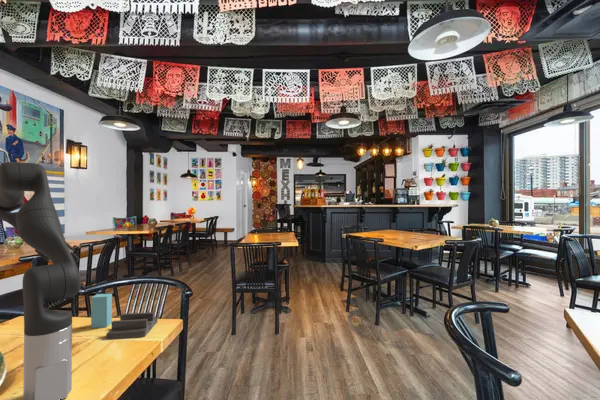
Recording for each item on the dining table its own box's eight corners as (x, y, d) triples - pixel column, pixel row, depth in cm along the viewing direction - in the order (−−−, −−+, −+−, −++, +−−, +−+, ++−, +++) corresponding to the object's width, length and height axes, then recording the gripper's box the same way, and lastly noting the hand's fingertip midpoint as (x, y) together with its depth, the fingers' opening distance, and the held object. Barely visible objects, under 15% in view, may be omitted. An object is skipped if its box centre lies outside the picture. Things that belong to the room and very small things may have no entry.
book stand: (145, 336, 105) (145, 322, 105) (106, 338, 103) (106, 325, 103) (157, 321, 118) (157, 309, 118) (123, 323, 116) (123, 311, 116)
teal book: (106, 327, 113) (106, 296, 113) (90, 328, 112) (91, 297, 112) (111, 323, 117) (112, 293, 117) (96, 323, 116) (96, 294, 116)
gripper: (31, 229, 104) (65, 260, 106) (58, 225, 118) (88, 253, 120) (15, 243, 104) (49, 274, 105) (44, 238, 118) (74, 265, 119)
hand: (70, 263), depth 113 cm, fingers open, 8 cm apart
